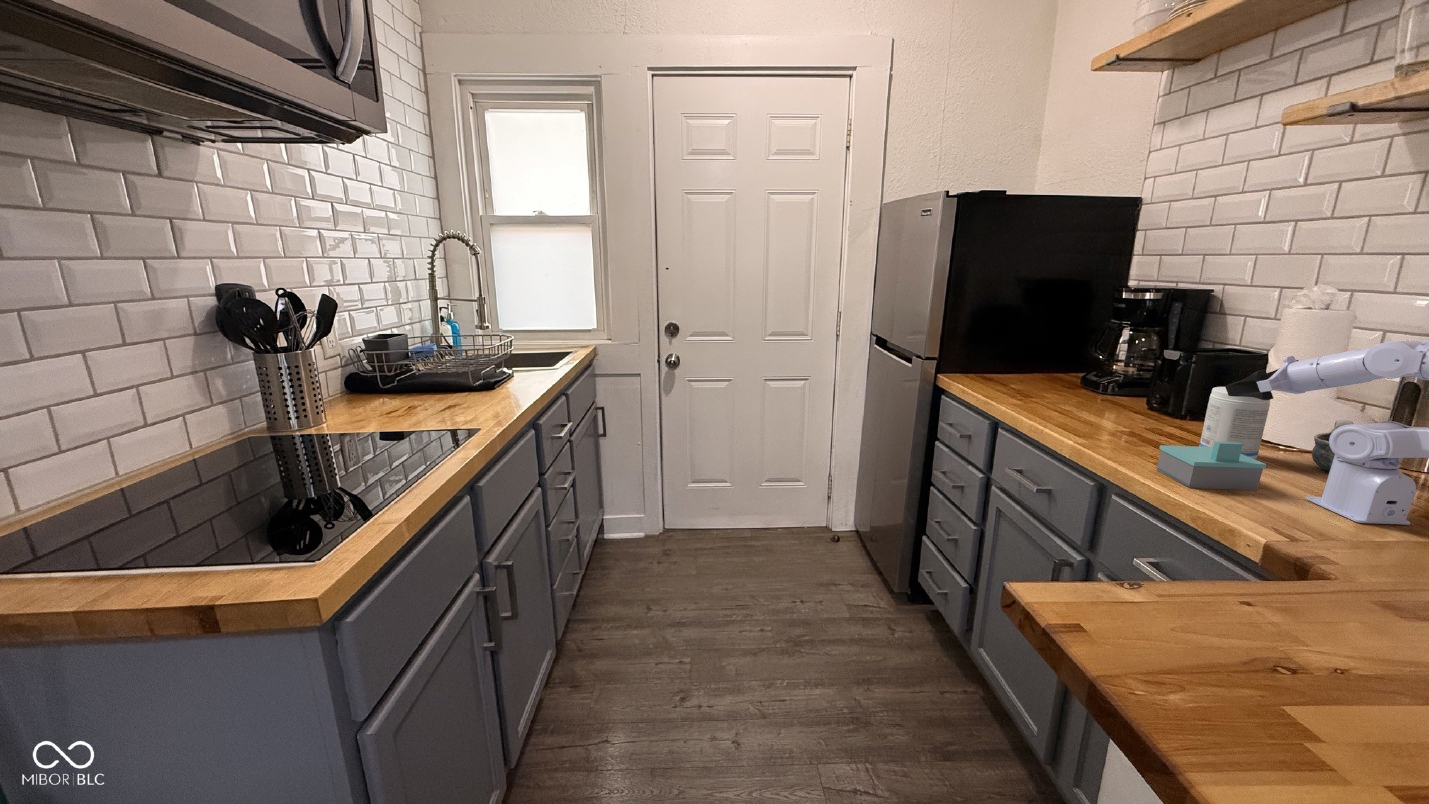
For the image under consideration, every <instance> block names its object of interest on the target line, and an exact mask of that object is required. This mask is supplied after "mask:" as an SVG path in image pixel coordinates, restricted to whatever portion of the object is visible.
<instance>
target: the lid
mask: <svg viewBox="0 0 1429 804" xmlns="http://www.w3.org/2000/svg"><path fill="white" fill-rule="evenodd" d="M1242 446H1243V444H1241V443H1239V442H1217V441H1215V443H1214V447H1199V445H1198V446H1193V445H1192V446H1191V445H1165V444H1164V445H1159V450H1160V451H1161V450H1162V451H1164V452H1166V453H1168V454H1170V455H1172V456H1174V457H1176V458H1179V459H1181V460H1183V461H1185V462H1187V463H1189V464H1191V465H1193V466H1210V467H1239V468H1263V469H1266V467H1267V464H1266V463H1265V462H1261V461H1260V460H1257V459H1256V460H1255V459H1253V458H1250V457H1248V456H1245V455H1243V454H1241V450H1242Z"/></svg>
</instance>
